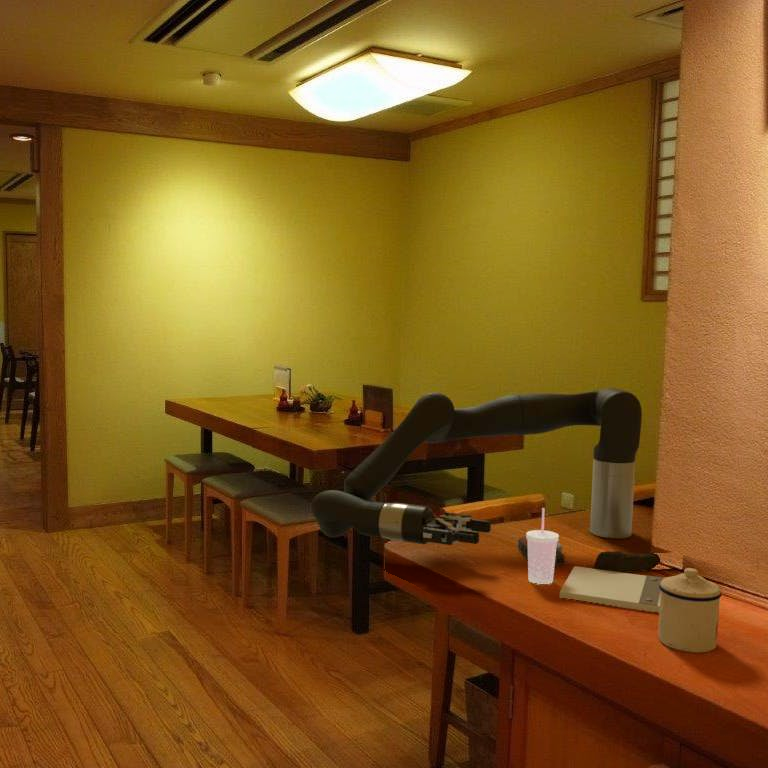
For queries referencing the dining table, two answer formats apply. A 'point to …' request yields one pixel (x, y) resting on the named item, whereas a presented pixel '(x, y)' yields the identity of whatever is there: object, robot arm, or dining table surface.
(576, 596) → the floor panel
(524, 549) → the walkie-talkie
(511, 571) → the dining table surface
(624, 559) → the hand tool
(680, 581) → the teacup with lid
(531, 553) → the beverage cup
